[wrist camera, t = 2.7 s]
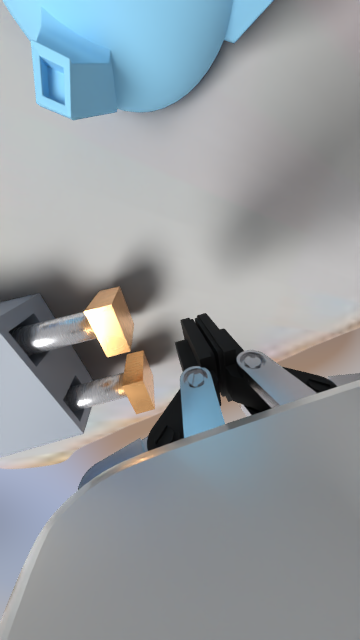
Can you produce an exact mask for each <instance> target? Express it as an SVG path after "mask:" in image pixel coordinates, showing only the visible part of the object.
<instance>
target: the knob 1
mask: <svg viewBox="0 0 360 640" xmlns="http://www.w3.org/2000/svg"><path fill="white" fill-rule="evenodd" d="M133 329H134V323H133V320H132V318H131V315H130V312H129V310H128V307H127V304H126V302H125V299H124V296H123V293H122V291H121V288H120V286H119V287H115V288H110V289H106V290H102V291H99V292H98V293H97V295H96V296H95V297H94V299H93V300H92V301H91V303H90V304H89V305H88V306H87V308H86V309H85V310H84V312H80V313H76V314H72V315H68V316H64V317H60V318H56V319H52V320H47V321H43V322H39V323H35V324H31V325H27V326H23V327H19V328H14V329H11V330H10V331H9V333H10V335H11V336H12V337H13V338H14V340H15V341H16V342H17V343H18V345H19V346H20V347H21V348H22V350H23V351H24V352H25V353H26V355H27V356H30V355H34V354H37V353H41V352H45V351H49V350H53V349H57V348H61V347H65V346H69V345H73V344H77V343H81V342H85V341H89V340H93V339H97V338H98V340H99V342H100V344H101V346H102V348H103V350H104V352H105V354H106V356H107V357H111V356H115V355H118V354H122V353H126V352H130V351H131V345H132V337H133Z"/></svg>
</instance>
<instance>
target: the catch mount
mask: <svg viewBox="0 0 360 640" xmlns="http://www.w3.org/2000/svg"><path fill="white" fill-rule="evenodd" d="M52 319H55V318H54V316H53V314H52V313H51V311H50V310H49V308H48V306H47V305H46V303H45V302H44V300H43V298H42V297H41V295H40V293H38V294H34V295H29V296H25V297H21V298H16V299H12V300H8V301H3V302H0V458H1V457H4V456H8V455H11V454H15V453H18V452H22V451H25V450H29V449H32V448H35V447H39V446H42V445H46V444H49V443H53V442H56V441H60V440H63V439H67V438H70V437H74V436H77V435H81V434H84V430H85V427H86V424H87V421H88V417H89V414H90V411H91V408H92V407H88V408H84V409H81V410H77V411H74V412H72V411H71V410H70V408H69V407H68V406H67V405H66V403H65V402H64V401H63V399H64V397H65V395H66V393H67V391H68V389H69V387H72V386H76V385H79V384H83V383H87V382H91V381H93V379H92V378H91V376H90V375H89V373H88V371H87V370H86V368H85V366H84V365H83V363H82V362H81V360H80V358H79V357H78V355H77V353H76V352H75V350H74V349H73V347H72V345H69V346H65V347H61V348H57V349H53V350H49V351H45V352H41V353H37V354H34V355H30V356H27V355H26V353H25V352H24V351H23V350H22V348H21V347H20V346H19V345H18V343H17V342H16V341H15V340H14V338H13V337H12V336H11V335H10V333H9V331H10V330H11V329H14V328H19V327H23V326H27V325H31V324H35V323H39V322H43V321H47V320H52Z"/></svg>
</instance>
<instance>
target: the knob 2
mask: <svg viewBox="0 0 360 640" xmlns="http://www.w3.org/2000/svg"><path fill="white" fill-rule="evenodd" d="M124 397H128V399H129V401H130V403H131V405H132V407H133V409H134V410H135V412H136V414H139V413H142V412H146V411H149V410H153V409H155V403H154V384H153V374H152V372H151V369H150V366H149V364H148V361H147V358H146V356H145V353H144V350H142V351H138V352H134V353H131V354H127V357H126V364H125V370H124V373H120V374H117V375H113V376H109V377H105V378H102V379H98V380H94V381H91V382H87V383H83V384H79V385H76V386H72V387H69V389H68V391H67V393H66V395H65V397H64V399H63V401H64V402H65V403H66V405H67V406H68V407H69V408H70V410H71V411H72V412H74V411H77V410H81V409H84V408H88V407H92V406H95V405H99V404H102V403H106V402H110V401H113V400H117V399H120V398H124Z"/></svg>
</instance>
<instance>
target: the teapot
mask: <svg viewBox="0 0 360 640" xmlns="http://www.w3.org/2000/svg"><path fill="white" fill-rule="evenodd" d="M273 1H274V0H3V2H4V4H5V5H6V7H7V9H8V10H9V12H10V14H11V15H12V16H13V18H14V19H15V21H16V22H17V24H18V25H19V26H20V28H21V29H22V31H23V32H24V33H25V35H26V36H27V38H28V39H29V40H30V41H31V48H32V59H33V70H34V81H35V92H36V103H37V104H38V105H39V106H41V107H43V108H46V109H48V110H50V111H53V112H55V113H58V114H60V115H62V116H65V117H67V118H69V119H72V120H77V119H83V118H88V117H93V116H99V115H104V114H109V113H115V112H117V109H120V110H124V111H130V112H151V111H155V110H159V109H162V108H165V107H167V106H169V105H171V104H173V103H175V102H177V101H178V100H180V99H181V98H182V97H184V96H185V95H187V94H188V93H189V92H190V91H191V90H192V89H193V88H194V87H195V86H196V85H197V84H198V83H199V82H200V80H201V79H202V78H203V76H204V75H205V74H206V72H207V71H208V70H209V68H210V66H211V65H212V63H213V61H214V59H215V58H216V56H217V54H218V52H219V50H220V48H221V46H222V43H223V41H224V40H225V41H228V42H231V43H235V42H236V41H237V40H238V39H239V38H240V37H241V35H242V34H243V33H244V32H245V31H246V30H247V29H248V28H249V27H250V26H251V25H252V24H253V22H254V21H255V20H256V19H257V18H258V17H259V16H260V15H261V14H262V13H263V12H264V10H265V9H266V8H267V7H268V6H269V5H270V4H271V3H272V2H273Z"/></svg>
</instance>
